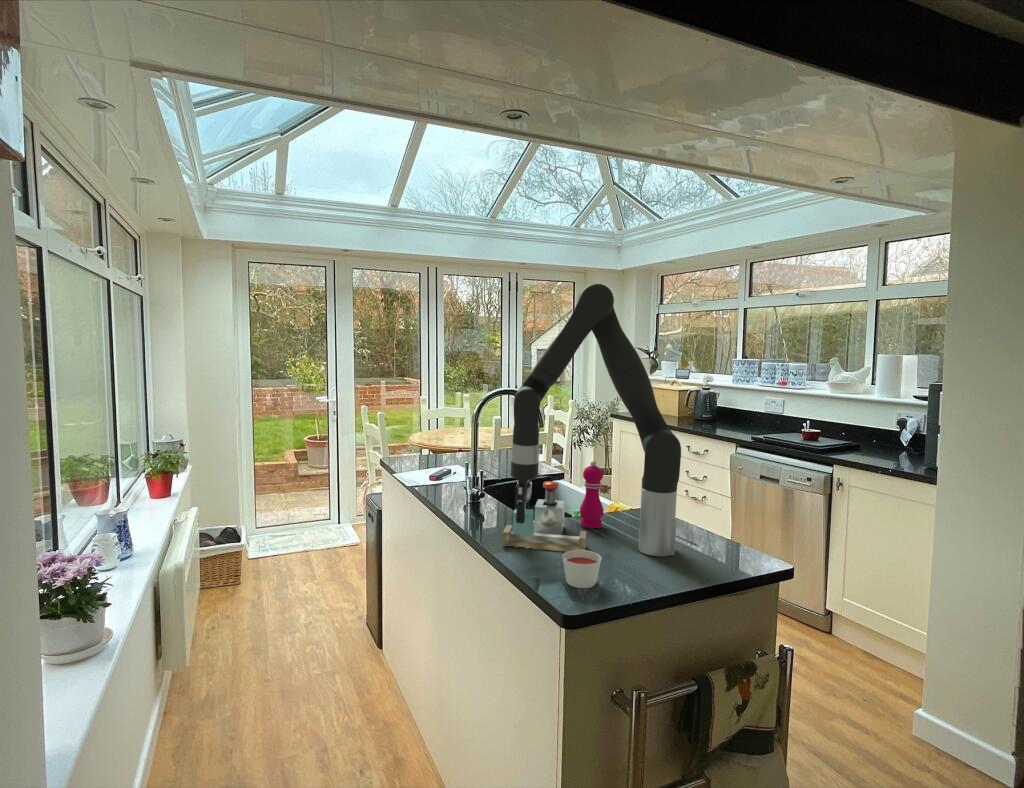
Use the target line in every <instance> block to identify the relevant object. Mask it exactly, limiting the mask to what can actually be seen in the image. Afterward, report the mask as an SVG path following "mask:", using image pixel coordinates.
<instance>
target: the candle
mask: <svg viewBox="0 0 1024 788" xmlns="http://www.w3.org/2000/svg"><path fill="white" fill-rule="evenodd" d="M562 561H563V562H562V563H563V568H564V575H565V581H566V583H567V584H568V586H571V587H572V588H577V589H590V588H593V587H594V586H595V585H596V583H597V580H598V575H599V570H600V567H601V563H602V556H601V555H600V554H599V553H596V552H595V551H593V550H592V551H590V550H588V549H587V550H586V549H585V550H571V551H567V552H566V551H564V553H562Z"/></svg>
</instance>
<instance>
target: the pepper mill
mask: <svg viewBox="0 0 1024 788" xmlns="http://www.w3.org/2000/svg"><path fill="white" fill-rule="evenodd" d="M582 476H583V479H584V480H585V481H584V485H583V486H584V487H585V494H584V495H585V496H584V498H583V500H582V503H581V505H580V506H579V515H580V516H581V517H582V518H581V519H580V526H581V525H582V526H584V527H588V528H598V529H600V528H601V527H602V519H601V518H602V517H604V507H603V504H602V502H601V498H600V488H602V482H601V481H602V480H603V477H604V472H603V470H602V468H601V467H599V466H597V462H596V461H595V460H592V461H591V462H590V465H589V466H587V467H585V468H584V469H583V472H582ZM582 526H581V527H582ZM584 527H583V528H584ZM588 528H587V529H588Z"/></svg>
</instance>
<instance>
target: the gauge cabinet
mask: <svg viewBox="0 0 1024 788" xmlns="http://www.w3.org/2000/svg"><path fill="white" fill-rule="evenodd" d="M565 502H566V501H565V500H557V499H555V506H546V505H545V498H544V499H542V498H541V499H539V498H538V499H537V501H536V503H535V505H534V519H533V533H540V534H554V535H563V533H562V532H564V528H565V505H566V503H565ZM563 527H564V528H563Z"/></svg>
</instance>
